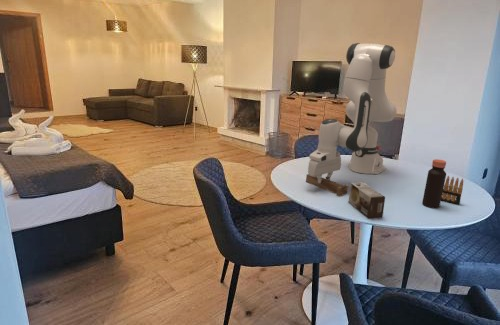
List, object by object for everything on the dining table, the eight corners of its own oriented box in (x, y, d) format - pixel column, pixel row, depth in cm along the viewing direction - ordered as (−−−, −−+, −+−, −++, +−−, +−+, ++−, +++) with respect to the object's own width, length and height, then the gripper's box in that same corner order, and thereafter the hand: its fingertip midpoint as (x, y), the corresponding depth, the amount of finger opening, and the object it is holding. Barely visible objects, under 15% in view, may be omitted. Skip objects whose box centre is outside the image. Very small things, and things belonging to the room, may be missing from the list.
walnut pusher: (311, 180, 172) (312, 172, 171) (347, 193, 156) (348, 185, 155) (303, 182, 169) (304, 175, 168) (339, 196, 153) (340, 188, 152)
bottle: (424, 200, 150) (432, 157, 145) (441, 205, 146) (450, 161, 140) (420, 205, 145) (428, 161, 140) (437, 210, 141) (447, 164, 135)
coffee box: (361, 201, 148) (382, 218, 133) (347, 202, 147) (367, 219, 132) (364, 181, 145) (386, 196, 130) (350, 182, 144) (371, 197, 129)
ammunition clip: (431, 199, 153) (437, 173, 149) (432, 197, 154) (437, 172, 151) (459, 205, 147) (465, 179, 143) (459, 204, 148) (465, 178, 144)
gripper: (335, 149, 167) (332, 175, 171) (306, 155, 155) (304, 183, 159) (345, 152, 162) (342, 179, 166) (317, 158, 150) (314, 187, 154)
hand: (323, 181), depth 162 cm, fingers open, 4 cm apart
